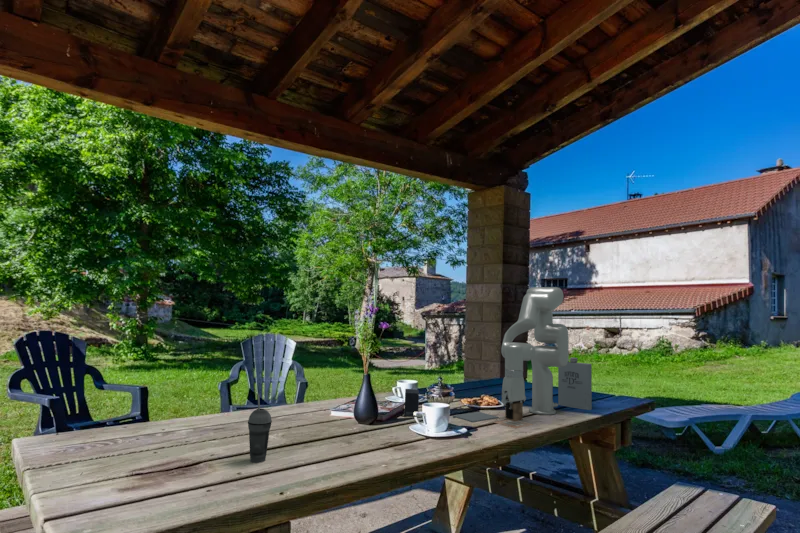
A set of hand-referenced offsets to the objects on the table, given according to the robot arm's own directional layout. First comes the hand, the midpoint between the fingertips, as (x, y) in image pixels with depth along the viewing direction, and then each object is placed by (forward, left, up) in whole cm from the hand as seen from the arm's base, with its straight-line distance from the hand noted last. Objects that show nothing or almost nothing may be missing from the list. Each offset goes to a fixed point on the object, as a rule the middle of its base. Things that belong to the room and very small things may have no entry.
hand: (513, 417), depth 204 cm
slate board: (+6, -16, -4) cm, 17 cm away
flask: (-60, -11, -4) cm, 61 cm away
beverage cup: (+106, -11, -4) cm, 107 cm away
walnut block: (0, 0, -1) cm, 1 cm away
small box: (+24, -39, -4) cm, 46 cm away
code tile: (0, 0, -4) cm, 4 cm away
